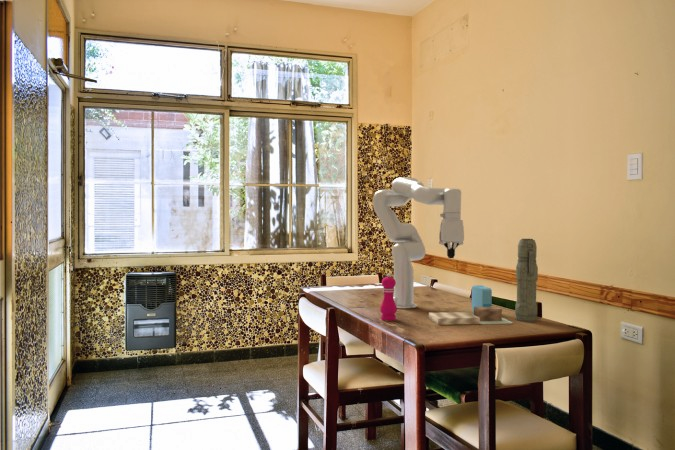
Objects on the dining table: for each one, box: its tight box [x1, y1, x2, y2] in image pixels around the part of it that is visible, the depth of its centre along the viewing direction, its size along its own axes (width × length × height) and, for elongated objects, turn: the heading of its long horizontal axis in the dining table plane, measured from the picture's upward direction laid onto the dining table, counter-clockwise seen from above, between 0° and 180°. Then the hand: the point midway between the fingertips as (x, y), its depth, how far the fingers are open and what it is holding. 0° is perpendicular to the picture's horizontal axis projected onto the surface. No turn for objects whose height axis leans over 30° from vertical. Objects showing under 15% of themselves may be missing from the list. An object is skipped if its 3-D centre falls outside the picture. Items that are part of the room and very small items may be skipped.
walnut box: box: [473, 306, 503, 321], centre depth 233 cm, size 10×6×5 cm, turn 95°
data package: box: [471, 285, 493, 312], centre depth 251 cm, size 12×4×12 cm, turn 10°
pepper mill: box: [379, 272, 398, 322], centre depth 235 cm, size 7×7×20 cm
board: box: [428, 311, 481, 326], centre depth 232 cm, size 18×13×2 cm
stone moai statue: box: [514, 238, 539, 323], centre depth 235 cm, size 9×12×35 cm
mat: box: [479, 317, 514, 325], centre depth 234 cm, size 14×15×1 cm
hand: (450, 257), depth 242 cm, fingers closed
